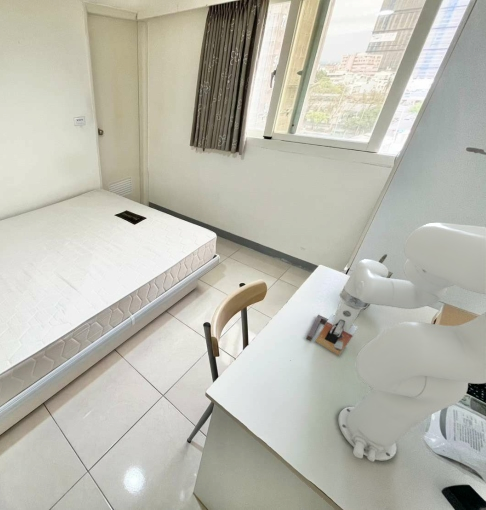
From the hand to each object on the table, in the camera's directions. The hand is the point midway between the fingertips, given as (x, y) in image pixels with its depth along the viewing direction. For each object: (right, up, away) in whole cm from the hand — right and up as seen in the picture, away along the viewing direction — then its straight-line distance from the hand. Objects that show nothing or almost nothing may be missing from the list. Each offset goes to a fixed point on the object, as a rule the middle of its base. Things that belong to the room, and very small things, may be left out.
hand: (332, 333), depth 94 cm
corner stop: (+1, -2, +4) cm, 5 cm away
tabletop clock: (+21, +7, +18) cm, 28 cm away
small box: (0, -4, +2) cm, 5 cm away
